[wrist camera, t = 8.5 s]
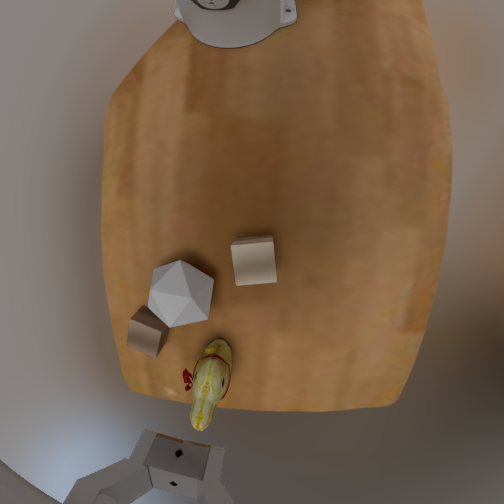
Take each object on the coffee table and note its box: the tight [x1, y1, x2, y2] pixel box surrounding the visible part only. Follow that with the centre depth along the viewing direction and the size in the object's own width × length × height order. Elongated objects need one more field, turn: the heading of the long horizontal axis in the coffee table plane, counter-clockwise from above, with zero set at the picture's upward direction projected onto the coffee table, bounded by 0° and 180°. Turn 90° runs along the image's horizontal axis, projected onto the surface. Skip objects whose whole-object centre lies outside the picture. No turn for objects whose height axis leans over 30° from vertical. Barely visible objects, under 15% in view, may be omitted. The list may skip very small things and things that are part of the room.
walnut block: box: [127, 305, 169, 358], centre depth 40 cm, size 5×5×5 cm
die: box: [148, 260, 214, 328], centre depth 36 cm, size 8×9×10 cm
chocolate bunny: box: [183, 339, 232, 431], centre depth 35 cm, size 7×11×15 cm, turn 170°
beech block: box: [231, 235, 277, 286], centre depth 36 cm, size 5×5×5 cm
